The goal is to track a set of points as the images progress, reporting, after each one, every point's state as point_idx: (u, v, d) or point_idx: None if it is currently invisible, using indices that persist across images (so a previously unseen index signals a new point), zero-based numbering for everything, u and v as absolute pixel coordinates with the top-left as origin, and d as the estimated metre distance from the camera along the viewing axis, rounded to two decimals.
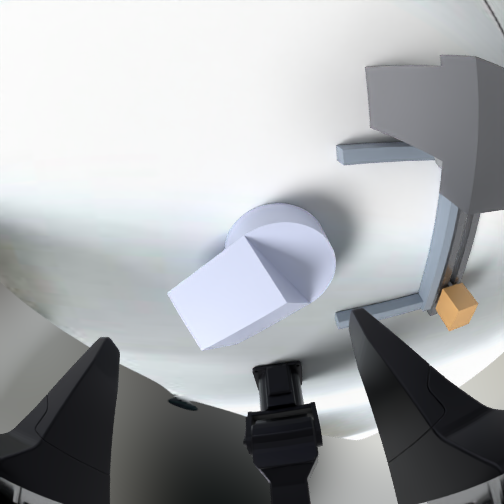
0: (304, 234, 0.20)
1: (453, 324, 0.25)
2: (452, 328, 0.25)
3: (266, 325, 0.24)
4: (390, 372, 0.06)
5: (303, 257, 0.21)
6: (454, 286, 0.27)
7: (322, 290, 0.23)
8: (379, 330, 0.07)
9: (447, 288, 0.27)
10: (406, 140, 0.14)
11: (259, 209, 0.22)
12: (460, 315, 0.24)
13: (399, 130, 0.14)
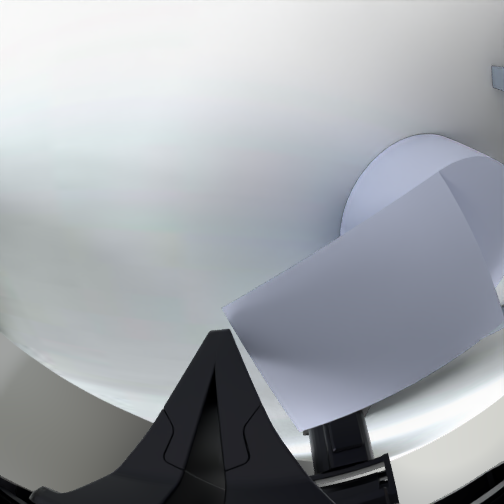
0: None
1: None
2: None
3: None
4: (217, 402, 0.06)
5: (494, 235, 0.08)
6: None
7: None
8: (229, 356, 0.08)
9: None
10: None
11: (425, 137, 0.09)
12: None
13: None
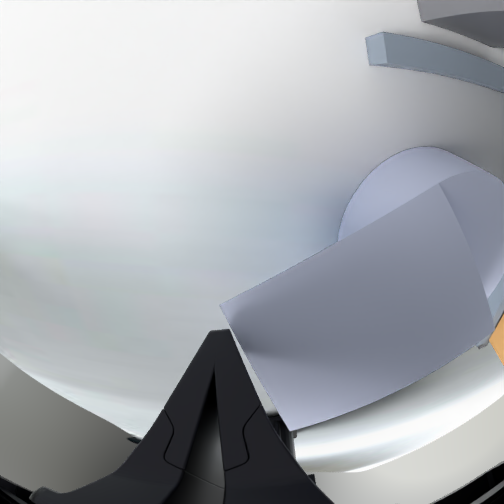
0: (503, 205, 0.08)
1: None
2: None
3: None
4: (217, 402, 0.06)
5: (488, 248, 0.09)
6: None
7: None
8: (229, 356, 0.08)
9: None
10: None
11: (426, 150, 0.09)
12: None
13: None
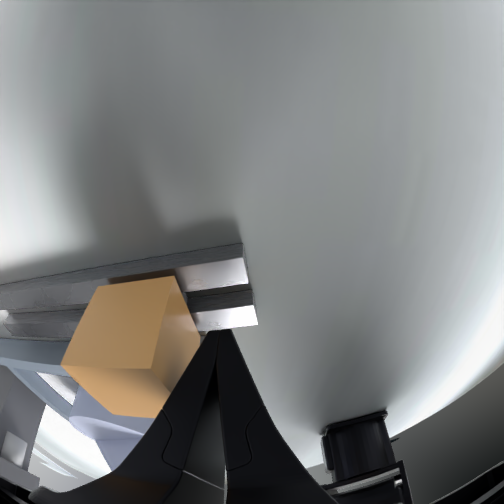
0: (76, 423, 0.15)
1: None
2: None
3: None
4: (219, 402, 0.06)
5: (96, 429, 0.16)
6: None
7: (129, 429, 0.15)
8: (231, 356, 0.08)
9: None
10: (34, 437, 0.15)
11: None
12: (124, 408, 0.08)
13: None
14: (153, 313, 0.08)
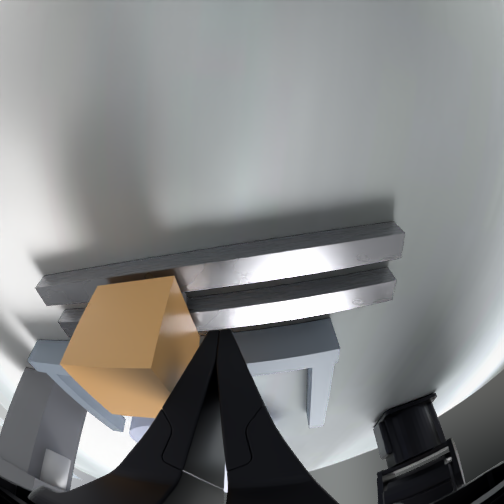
0: (139, 433, 0.15)
1: None
2: None
3: None
4: (219, 402, 0.06)
5: None
6: None
7: None
8: (231, 355, 0.08)
9: None
10: (75, 451, 0.15)
11: None
12: (123, 407, 0.08)
13: None
14: (153, 312, 0.08)
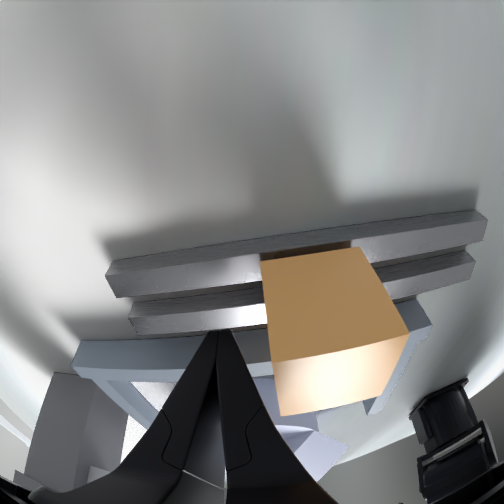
0: None
1: (353, 399, 0.08)
2: (374, 392, 0.08)
3: (323, 452, 0.16)
4: (219, 402, 0.06)
5: None
6: None
7: (296, 427, 0.14)
8: (231, 356, 0.08)
9: None
10: (118, 463, 0.14)
11: None
12: (312, 402, 0.07)
13: None
14: (368, 282, 0.08)
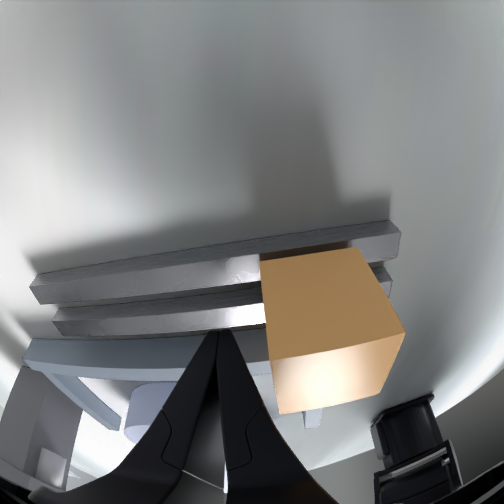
0: (133, 433, 0.15)
1: (351, 398, 0.08)
2: (372, 391, 0.08)
3: None
4: (219, 402, 0.06)
5: None
6: None
7: None
8: (231, 356, 0.08)
9: None
10: (71, 450, 0.15)
11: None
12: (311, 400, 0.08)
13: None
14: (365, 281, 0.08)
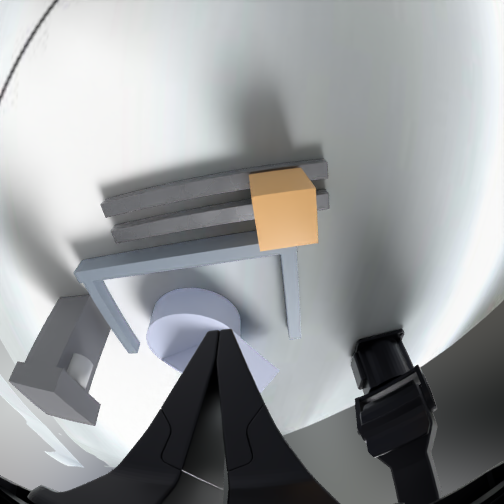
0: (154, 333, 0.23)
1: (300, 241, 0.16)
2: (312, 237, 0.16)
3: (247, 362, 0.25)
4: (220, 401, 0.06)
5: (176, 334, 0.23)
6: None
7: (214, 321, 0.23)
8: (232, 355, 0.08)
9: None
10: (96, 365, 0.23)
11: None
12: (276, 237, 0.16)
13: None
14: (300, 176, 0.16)
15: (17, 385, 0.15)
